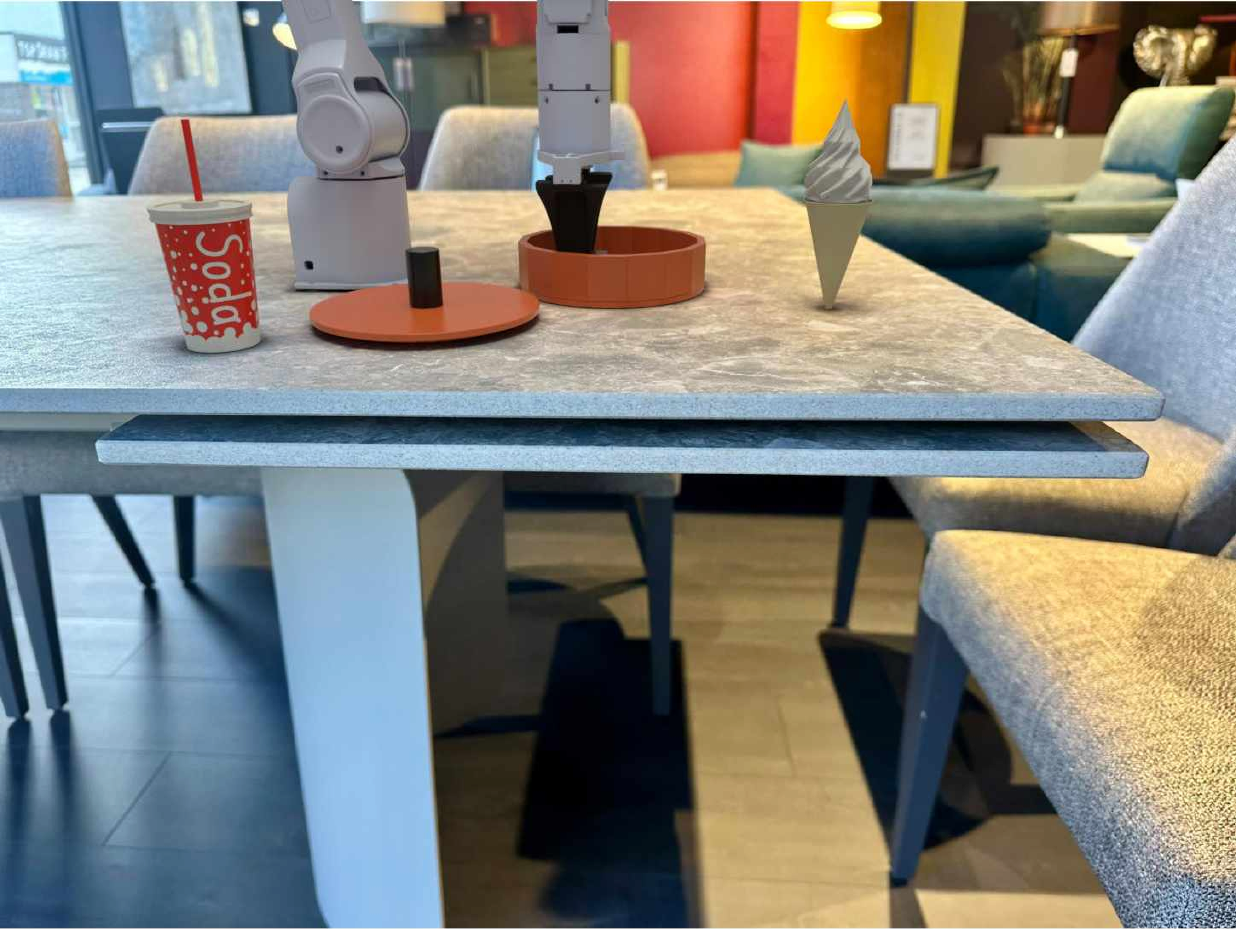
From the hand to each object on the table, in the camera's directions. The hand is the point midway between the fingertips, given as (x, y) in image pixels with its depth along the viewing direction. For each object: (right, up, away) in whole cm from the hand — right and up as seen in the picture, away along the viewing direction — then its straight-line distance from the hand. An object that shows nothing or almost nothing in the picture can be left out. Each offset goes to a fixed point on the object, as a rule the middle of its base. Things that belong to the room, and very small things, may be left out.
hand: (577, 265), depth 76 cm
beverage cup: (-23, -9, -16) cm, 29 cm away
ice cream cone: (+20, -5, -7) cm, 21 cm away
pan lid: (-10, -6, -10) cm, 16 cm away
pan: (+3, -2, +1) cm, 3 cm away
